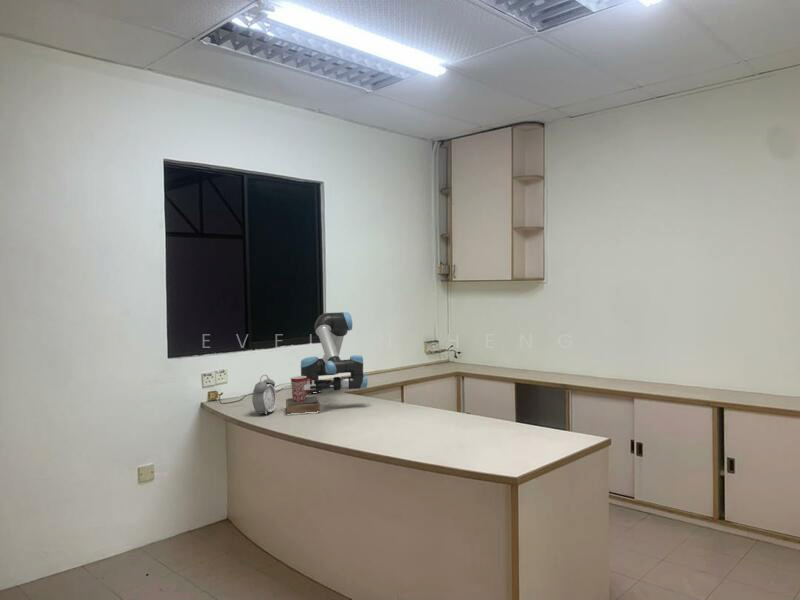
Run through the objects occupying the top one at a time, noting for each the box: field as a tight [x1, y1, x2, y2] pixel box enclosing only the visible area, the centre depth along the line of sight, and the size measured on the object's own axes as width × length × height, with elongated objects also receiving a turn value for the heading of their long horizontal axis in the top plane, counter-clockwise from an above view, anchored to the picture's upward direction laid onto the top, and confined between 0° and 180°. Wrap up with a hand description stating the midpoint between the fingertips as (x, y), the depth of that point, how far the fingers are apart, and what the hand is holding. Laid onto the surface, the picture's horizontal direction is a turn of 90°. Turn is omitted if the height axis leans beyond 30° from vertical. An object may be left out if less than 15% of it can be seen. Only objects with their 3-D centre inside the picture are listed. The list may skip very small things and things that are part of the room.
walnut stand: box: [285, 396, 321, 415], centre depth 318 cm, size 18×18×6 cm
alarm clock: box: [251, 374, 277, 415], centre depth 312 cm, size 16×9×22 cm, turn 168°
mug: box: [290, 375, 312, 402], centre depth 318 cm, size 13×9×14 cm
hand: (303, 385), depth 317 cm, fingers open, 13 cm apart
